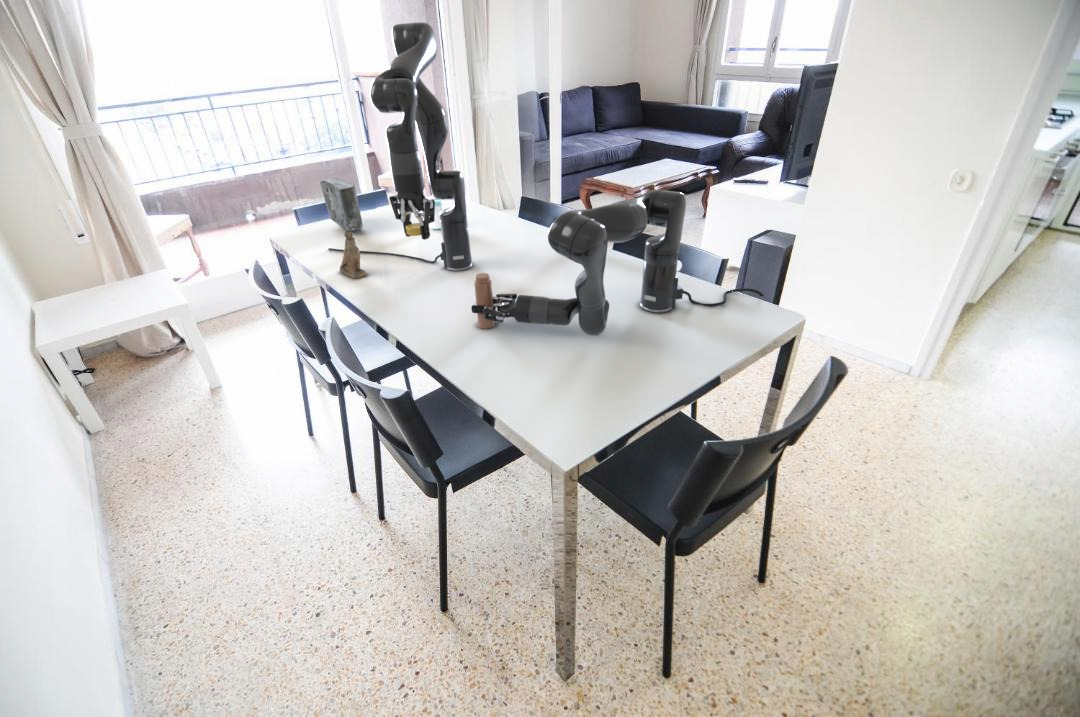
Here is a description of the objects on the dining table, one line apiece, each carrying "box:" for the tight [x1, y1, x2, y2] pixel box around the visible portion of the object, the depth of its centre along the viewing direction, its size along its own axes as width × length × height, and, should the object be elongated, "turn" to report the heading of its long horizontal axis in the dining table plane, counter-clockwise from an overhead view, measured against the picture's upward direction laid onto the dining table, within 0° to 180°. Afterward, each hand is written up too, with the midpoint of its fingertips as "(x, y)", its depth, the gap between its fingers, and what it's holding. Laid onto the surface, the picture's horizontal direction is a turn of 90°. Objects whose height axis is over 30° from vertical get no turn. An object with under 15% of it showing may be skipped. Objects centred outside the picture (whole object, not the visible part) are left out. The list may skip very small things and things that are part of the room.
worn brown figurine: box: [339, 230, 367, 280], centre depth 174 cm, size 12×6×18 cm, turn 43°
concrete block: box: [319, 177, 364, 232], centre depth 222 cm, size 27×9×20 cm, turn 36°
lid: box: [406, 222, 421, 237], centre depth 131 cm, size 5×5×2 cm
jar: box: [473, 272, 496, 330], centre depth 137 cm, size 5×5×15 cm
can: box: [429, 198, 445, 230], centre depth 220 cm, size 7×7×12 cm
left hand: (417, 237), depth 132 cm, fingers closed on lid, 5 cm apart
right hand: (475, 304), depth 138 cm, fingers closed on jar, 4 cm apart
